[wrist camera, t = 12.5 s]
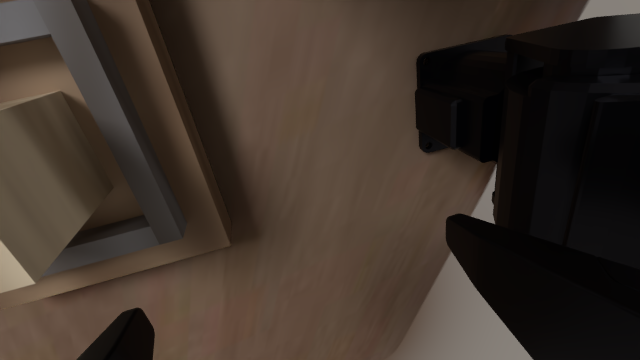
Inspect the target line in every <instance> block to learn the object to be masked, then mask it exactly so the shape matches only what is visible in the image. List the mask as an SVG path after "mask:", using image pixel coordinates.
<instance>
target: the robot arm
mask: <svg viewBox="0 0 640 360" xmlns="http://www.w3.org/2000/svg"><path fill="white" fill-rule="evenodd" d="M505 42H506V44H505ZM425 58H427V59H428V62H427V64H426V65H424V64H423V62H424V59H425ZM416 66H417V90H416V92H415V107H416V128H417V129H418V130H419V147H420V149H421V150H422V151H424V152H426V153H429V152H433V151H437V150H440V149H444V148H448V147H449V148H451V149H453V150H455V149H458V150H460V151H462V152H464V153H465V154H467V155H469V156H471V157H473V158H475V159H476V160H478V161H480V162H482V163H485V162H489V161H492V162H494V163H496V164H497V170H496V182H495V191H494V192H493V193H492V202H493V204H494V209H493V216H494V221H495V224H492V223H489V222H486V221H483V220H480V219H476V218H474V217H470V216H467V215H464V214H455V215H452V216H449V217H447V219H446V242H447V244H448V246H449V248H450V250H451V251H452V253H453V254H454V256H455V257H456V259H457V260H458V262H459V263H460V265H461V266H462V268H463V270H464V271H465V273H466V274H467V276H468V277H469V279H470V280H471V282H472V283H473V285H474V286H475V288H476V289H477V290H478V291H479V293H480V294H481V295H482V297H483V298H484V299H485V300H486V302H487V303H488V304H489V305H490V307H491V308H492V309H493V310H494V312H495V313H496V314H497V315H498V316H499V318H500V319H501V320H502V321H503V323H504V324H505V325H506V326H507V328H508V329H509V330H510V331H511V333H512V334H513V335H514V336H515V338H516V339H517V340H518V341H519V342H520V344H521V345H522V346H523V347H524V349H525V350H526V351H527V352H528V354H529V355H530V356H531V357H532V359H534V360H640V14H627V15H615V16H604V17H594V18H589V19H585V20H580V21H576V22H571V23H567V24H562V25H558V26H553V27H549V28H544V29H540V30H535V31H531V32H526V33H522V34H517V35H501V36H497V37H492V38H488V39H483V40H479V41H474V42H470V43H465V44H461V45H456V46H452V47H447V48H443V49H438V50H434V51H429V52H425V53H422V54H420V55H419V56H418V58H417V62H416ZM428 142H429V145H428V147H425V146H426V144H427V143H428ZM154 338H155V333H154V328H153V326H152V324H151V323H150V321H149V320H148V318H147V316H146V315H145V313H144V312H143V310H142V309H141V308H134V309H131V310H127V311H124V312H122V313H121V314H120V315H119V316H118V317H117V318H116V319H115V320H114V321H113V322H112V323H111V324H110V325H109V327H108V328H107V329H106V330H105V331H104V332H103V333H102V334H101V335H100V336H99V337H98V338H97V339H96V340H95V341H94V342H93V343H92V344H91V345H90V346H89V347H88V348H87V349H86V350H85V351H84V352H83V353H82V354H81V355H80V356H79V357H78V359H77V360H153V349H154Z"/></svg>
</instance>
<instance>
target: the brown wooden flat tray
mask: <svg viewBox="0 0 640 360" xmlns="http://www.w3.org/2000/svg"><path fill="white" fill-rule="evenodd" d="M56 91H61V93H62V95H63V96H64V98H65V100H66V102H67V104H68V105H69V107H70V109H71V111H72V113H73V115H74V116H75V118H76V120H77V122H78V124H79V125H80V127H81V129H82V131H83V133H84V135H85V136H86V138H87V140H88V142H89V144H90V145H91V147H92V149H93V151H94V153H95V155H96V156H97V158H98V160H99V162H100V164H101V165H102V167H103V169H104V171H105V173H106V174H107V176H108V178H109V180H110V182H111V184H112V185H113V187H114V188H113V189H112V191H111V192H110V193H109V194H108V195H107V197H106V198H105V199H104V200H103V202H102V203H101V204H100V205H99V206H98V208H97V209H96V210H95V211H94V213H93V214H92V215H91V216H90V217H89V219H88V220H87V221H86V222H85V224H84V225H83V226H82V227H81V229H80V230H79V231H78V232H77V233H76V235H75V236H74V237H73V238H72V240H71V241H70V242H69V243H68V244H67V246H66V247H65V248H64V249H63V251H62V252H61V253H60V254H59V255H58V257H57V258H56V259H55V260H54V262H53V263H52V264H51V265H50V267H49V268H48V269H47V270H46V271H45V273H44V274H43V275H42V276H41V278H40V279H39V280H38V281H37V282H36V284H32V285H28V286H25V287H21V288H18V289H14V290H10V291H7V292H3V293H0V310H3V309H7V308H10V307H14V306H17V305H21V304H25V303H28V302H32V301H35V300H39V299H43V298H46V297H50V296H53V295H57V294H60V293H64V292H68V291H71V290H75V289H78V288H82V287H86V286H89V285H93V284H96V283H100V282H103V281H107V280H111V279H114V278H118V277H121V276H125V275H129V274H132V273H136V272H139V271H143V270H146V269H150V268H154V267H157V266H161V265H164V264H168V263H172V262H175V261H179V260H182V259H186V258H189V257H193V256H197V255H200V254H204V253H207V252H211V251H215V250H218V249H222V248H225V247H229V246H231V232H232V223H231V220H230V217H229V215H228V212H227V209H226V207H225V204H224V201H223V198H222V196H221V193H220V190H219V188H218V185H217V182H216V180H215V177H214V174H213V172H212V169H211V166H210V163H209V161H208V158H207V155H206V153H205V150H204V147H203V145H202V142H201V139H200V136H199V134H198V131H197V128H196V126H195V123H194V120H193V118H192V115H191V112H190V110H189V107H188V104H187V101H186V99H185V96H184V93H183V91H182V88H181V85H180V83H179V80H178V77H177V75H176V72H175V69H174V66H173V64H172V61H171V58H170V56H169V53H168V50H167V48H166V45H165V42H164V40H163V37H162V34H161V31H160V29H159V26H158V23H157V21H156V18H155V15H154V13H153V10H152V7H151V4H150V2H149V0H0V103H4V102H9V101H13V100H18V99H23V98H28V97H32V96H37V95H42V94H46V93H51V92H56Z"/></svg>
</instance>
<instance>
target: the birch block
mask: <svg viewBox="0 0 640 360" xmlns="http://www.w3.org/2000/svg"><path fill="white" fill-rule="evenodd" d="M113 188H114V187H113V185H112V184H111V182H110V180H109V178H108V176H107V174H106V173H105V171H104V169H103V167H102V165H101V164H100V162H99V160H98V158H97V156H96V155H95V153H94V151H93V149H92V147H91V145H90V144H89V142H88V140H87V138H86V136H85V135H84V133H83V131H82V129H81V127H80V125H79V124H78V122H77V120H76V118H75V116H74V115H73V113H72V111H71V109H70V107H69V105H68V104H67V102H66V100H65V98H64V96H63V95H62V93H61V91H56V92H51V93H46V94H42V95H37V96H32V97H28V98H23V99H18V100H13V101H9V102H4V103H0V293H3V292H7V291H10V290H14V289H18V288H21V287H25V286H28V285H32V284H36V282H37V281H38V280H39V279H40V278H41V276H42V275H43V274H44V273H45V271H46V270H47V269H48V268H49V267H50V265H51V264H52V263H53V262H54V260H55V259H56V258H57V257H58V255H59V254H60V253H61V252H62V251H63V249H64V248H65V247H66V246H67V244H68V243H69V242H70V241H71V240H72V238H73V237H74V236H75V235H76V233H77V232H78V231H79V230H80V229H81V227H82V226H83V225H84V224H85V222H86V221H87V220H88V219H89V217H90V216H91V215H92V214H93V213H94V211H95V210H96V209H97V208H98V206H99V205H100V204H101V203H102V202H103V200H104V199H105V198H106V197H107V195H108V194H109V193H110V192H111V191H112V189H113Z"/></svg>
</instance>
